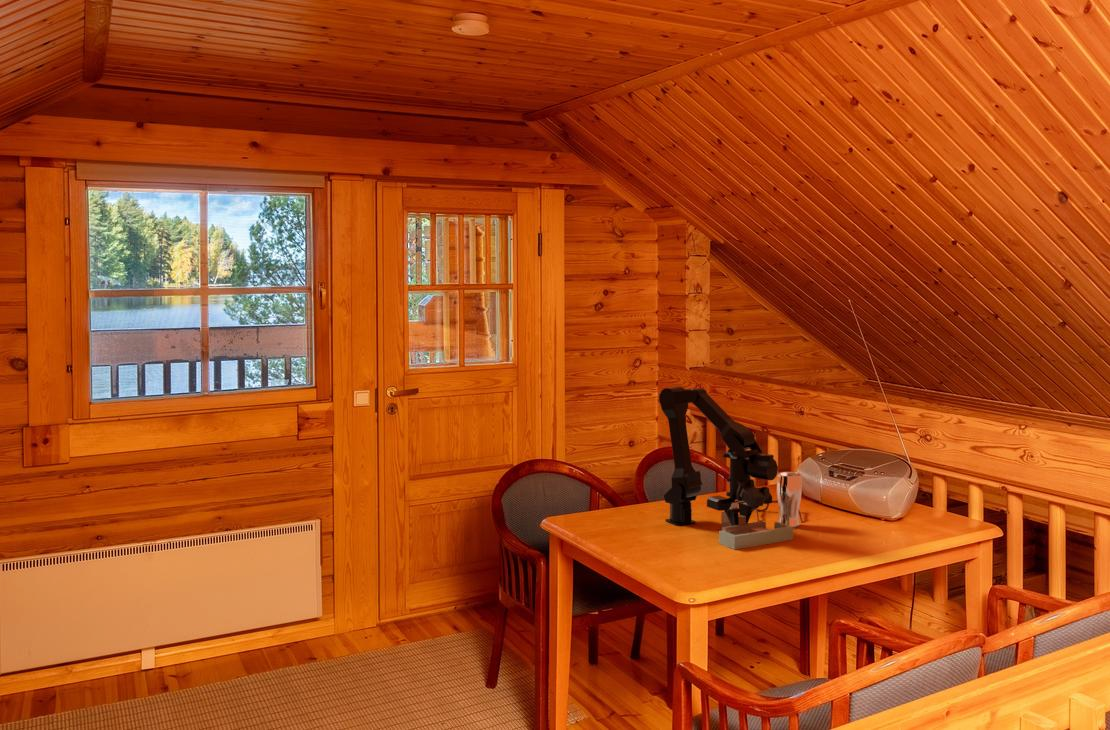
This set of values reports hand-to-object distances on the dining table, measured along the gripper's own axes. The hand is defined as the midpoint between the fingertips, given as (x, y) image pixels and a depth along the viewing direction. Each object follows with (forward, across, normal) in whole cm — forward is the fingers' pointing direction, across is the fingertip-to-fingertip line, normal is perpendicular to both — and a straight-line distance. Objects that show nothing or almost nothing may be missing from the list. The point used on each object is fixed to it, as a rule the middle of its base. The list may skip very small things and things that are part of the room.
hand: (739, 530), depth 274 cm
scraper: (+1, 0, +2) cm, 2 cm away
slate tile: (+2, -4, -5) cm, 6 cm away
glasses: (+2, +23, +11) cm, 26 cm away
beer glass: (+2, +19, +1) cm, 19 cm away
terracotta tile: (+2, +4, -5) cm, 6 cm away
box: (+1, 0, -7) cm, 7 cm away
